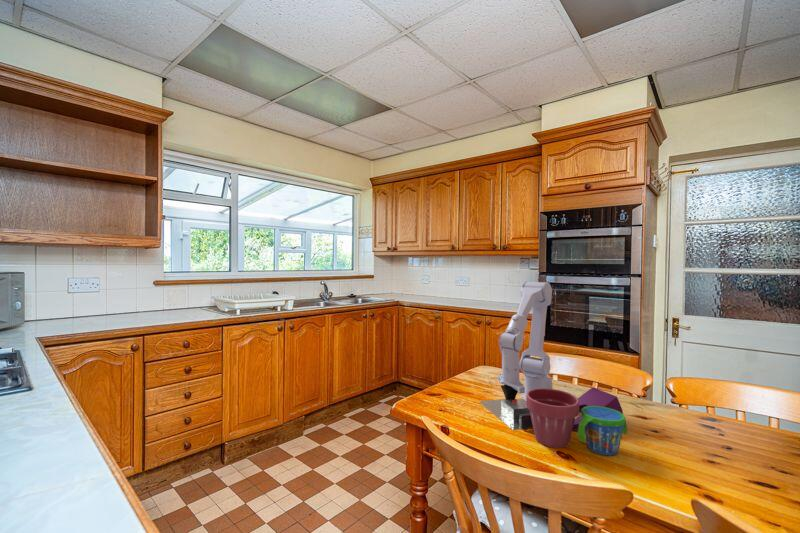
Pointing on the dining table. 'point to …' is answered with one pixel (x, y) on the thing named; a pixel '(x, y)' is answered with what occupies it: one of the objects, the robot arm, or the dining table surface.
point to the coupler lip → (495, 408)
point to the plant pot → (552, 415)
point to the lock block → (513, 408)
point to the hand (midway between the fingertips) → (510, 406)
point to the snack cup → (602, 429)
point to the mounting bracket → (597, 402)
